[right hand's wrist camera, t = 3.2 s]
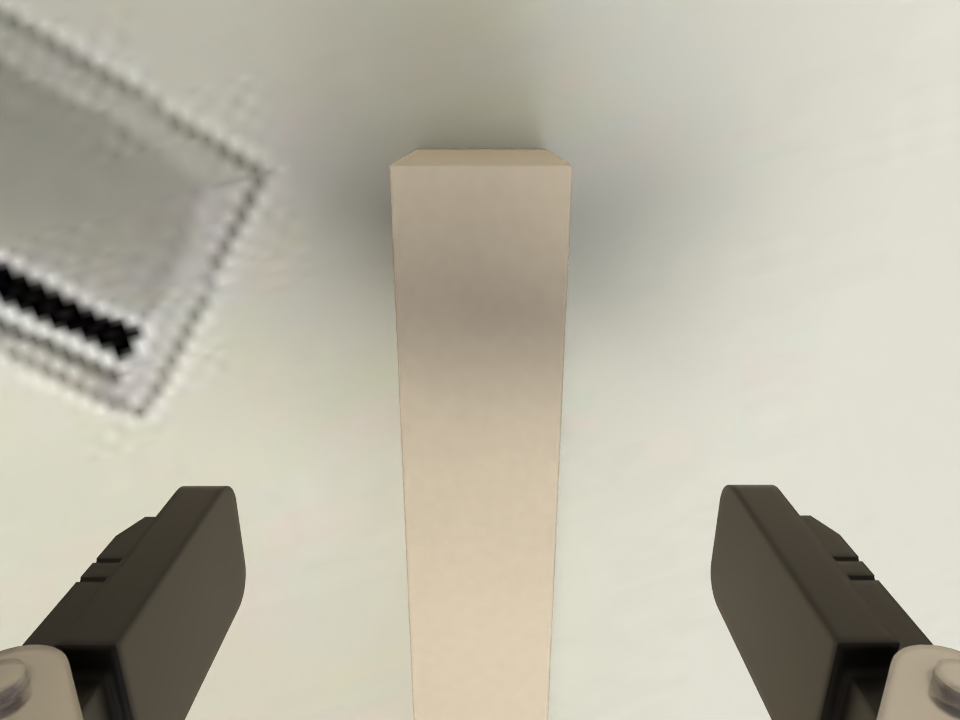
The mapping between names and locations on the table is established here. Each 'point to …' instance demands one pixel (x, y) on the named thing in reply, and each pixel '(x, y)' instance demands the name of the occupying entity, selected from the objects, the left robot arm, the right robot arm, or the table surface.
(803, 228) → the table surface
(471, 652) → the bar
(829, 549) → the right robot arm
